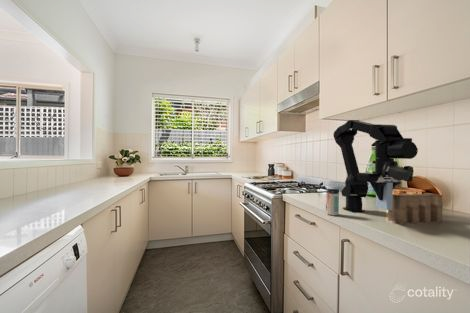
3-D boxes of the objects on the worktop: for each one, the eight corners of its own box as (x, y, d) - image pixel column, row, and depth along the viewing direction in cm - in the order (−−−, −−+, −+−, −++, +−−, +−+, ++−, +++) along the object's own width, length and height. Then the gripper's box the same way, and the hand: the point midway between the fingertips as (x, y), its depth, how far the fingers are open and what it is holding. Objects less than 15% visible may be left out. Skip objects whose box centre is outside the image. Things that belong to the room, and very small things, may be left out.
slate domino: (375, 206, 82) (376, 180, 82) (380, 206, 82) (381, 180, 82) (387, 210, 77) (387, 182, 77) (392, 209, 77) (392, 182, 77)
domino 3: (412, 218, 85) (412, 193, 85) (416, 218, 85) (417, 193, 85) (425, 222, 80) (425, 195, 80) (430, 222, 80) (430, 195, 80)
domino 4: (423, 217, 86) (424, 193, 86) (428, 217, 86) (428, 192, 86) (437, 221, 81) (437, 195, 81) (442, 221, 81) (442, 195, 81)
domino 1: (388, 219, 83) (388, 193, 83) (392, 219, 83) (393, 193, 83) (400, 223, 78) (400, 196, 78) (405, 223, 78) (405, 196, 78)
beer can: (327, 212, 93) (328, 184, 93) (339, 214, 90) (340, 185, 90) (324, 214, 89) (324, 185, 89) (336, 216, 86) (337, 187, 86)
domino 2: (400, 219, 84) (400, 193, 84) (404, 218, 84) (405, 193, 84) (412, 223, 79) (413, 196, 79) (417, 222, 79) (418, 195, 79)
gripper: (380, 158, 70) (380, 206, 70) (428, 159, 73) (427, 204, 73) (356, 158, 81) (355, 199, 81) (398, 158, 84) (397, 197, 84)
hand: (383, 200), depth 80 cm, fingers closed on slate domino, 2 cm apart
